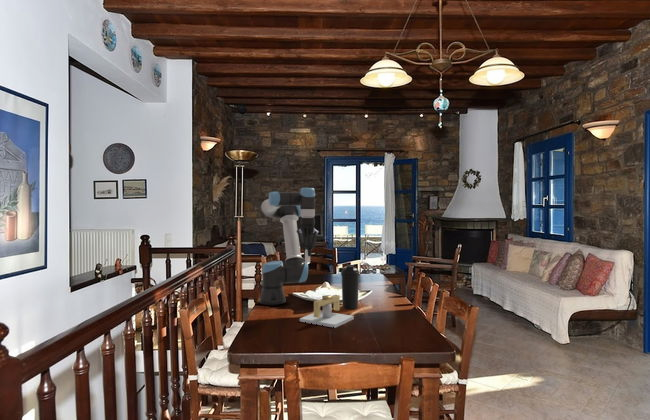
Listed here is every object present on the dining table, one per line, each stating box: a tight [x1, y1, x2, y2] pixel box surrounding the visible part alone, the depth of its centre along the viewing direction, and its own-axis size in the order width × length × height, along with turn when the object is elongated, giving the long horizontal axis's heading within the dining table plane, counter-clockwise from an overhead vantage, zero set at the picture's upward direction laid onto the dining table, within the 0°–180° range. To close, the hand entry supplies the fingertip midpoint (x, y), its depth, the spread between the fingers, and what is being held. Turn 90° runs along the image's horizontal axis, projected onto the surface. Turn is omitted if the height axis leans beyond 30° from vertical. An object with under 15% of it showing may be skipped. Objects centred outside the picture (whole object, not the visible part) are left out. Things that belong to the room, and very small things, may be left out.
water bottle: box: [340, 264, 360, 310], centre depth 243 cm, size 10×10×23 cm
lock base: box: [299, 303, 355, 329], centre depth 217 cm, size 20×18×8 cm
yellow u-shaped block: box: [313, 294, 341, 318], centre depth 216 cm, size 18×5×8 cm, turn 144°
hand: (307, 262), depth 232 cm, fingers closed
